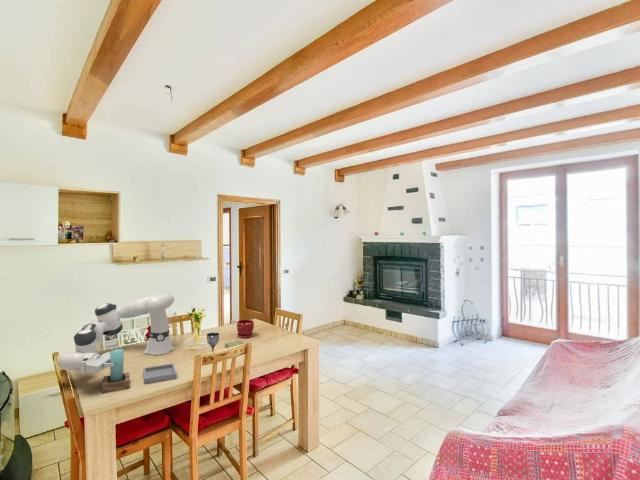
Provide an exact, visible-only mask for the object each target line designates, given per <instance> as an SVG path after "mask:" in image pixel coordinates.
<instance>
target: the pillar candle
mask: <svg viewBox="0 0 640 480" xmlns="http://www.w3.org/2000/svg"><path fill="white" fill-rule="evenodd" d="M109 352H110V363H112V362H115V366H114V367H109V375H110V381H119V380H122V379H123V373H124V356H125V355H124V354H125V353H124V352H125V350H124V349H123V348H115V349H112V350H110V351H109Z"/></svg>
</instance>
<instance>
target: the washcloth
mask: <svg viewBox="0 0 640 480" xmlns="http://www.w3.org/2000/svg"><path fill="white" fill-rule="evenodd" d="M244 343H245V342H244V341H242V340H235V341H228V342H225V343H224V347H225V346H226V347H225V348H227V347H233V346H237V345H241V344H244Z"/></svg>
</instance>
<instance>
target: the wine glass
mask: <svg viewBox="0 0 640 480" xmlns="http://www.w3.org/2000/svg"><path fill="white" fill-rule="evenodd" d="M219 340H220V333H219V332H215V331H214V332H209V333H207V334H206V341H207V342H206V343H207V344H208V345H209V346H210V347H211V353H212V352H213V353H214V349H215V347H216V346H217V345H218V343H219Z"/></svg>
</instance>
